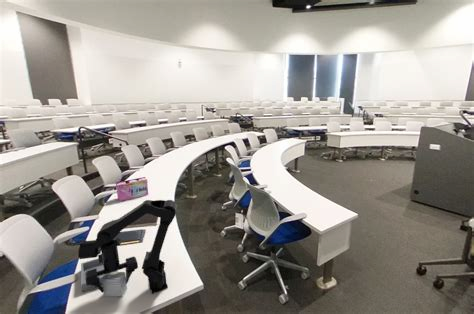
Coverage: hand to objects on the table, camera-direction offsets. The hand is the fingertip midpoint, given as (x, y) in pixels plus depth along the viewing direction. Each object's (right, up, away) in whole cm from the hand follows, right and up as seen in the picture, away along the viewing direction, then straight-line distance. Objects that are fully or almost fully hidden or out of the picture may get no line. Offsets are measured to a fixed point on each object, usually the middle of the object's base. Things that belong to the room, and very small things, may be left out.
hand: (115, 287), depth 102 cm
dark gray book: (-14, +6, +41) cm, 43 cm away
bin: (-13, 0, +11) cm, 17 cm away
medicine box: (0, -3, 0) cm, 3 cm away
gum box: (-35, +22, +100) cm, 108 cm away
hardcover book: (-13, +12, +61) cm, 64 cm away
